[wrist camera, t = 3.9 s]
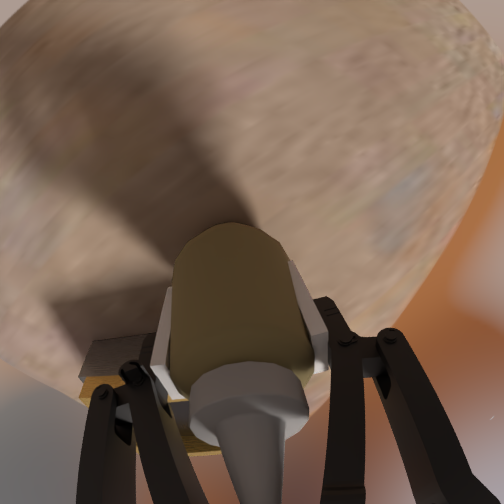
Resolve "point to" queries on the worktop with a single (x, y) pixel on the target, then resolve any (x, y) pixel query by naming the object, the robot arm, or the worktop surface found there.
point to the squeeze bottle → (240, 353)
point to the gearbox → (106, 372)
